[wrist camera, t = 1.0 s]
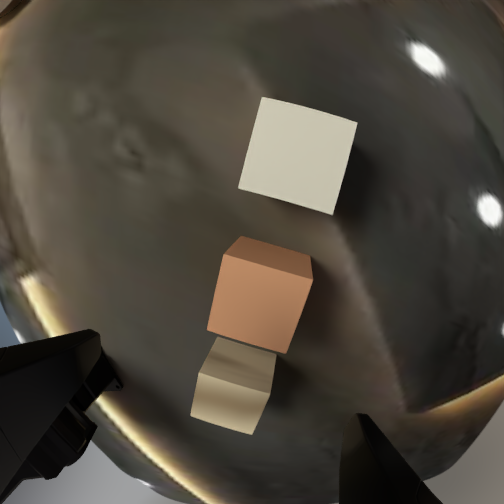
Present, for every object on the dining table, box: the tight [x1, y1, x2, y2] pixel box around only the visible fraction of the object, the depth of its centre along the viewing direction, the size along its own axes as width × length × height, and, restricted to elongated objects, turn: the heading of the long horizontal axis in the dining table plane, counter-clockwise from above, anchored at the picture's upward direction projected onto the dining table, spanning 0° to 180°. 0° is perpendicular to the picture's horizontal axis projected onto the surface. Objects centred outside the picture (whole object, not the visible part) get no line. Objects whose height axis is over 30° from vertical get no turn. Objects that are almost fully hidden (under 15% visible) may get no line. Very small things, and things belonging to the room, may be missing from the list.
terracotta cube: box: [207, 236, 313, 354], centre depth 19 cm, size 5×5×5 cm
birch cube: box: [190, 337, 277, 435], centre depth 21 cm, size 5×5×5 cm
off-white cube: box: [238, 97, 357, 215], centre depth 16 cm, size 5×5×5 cm
